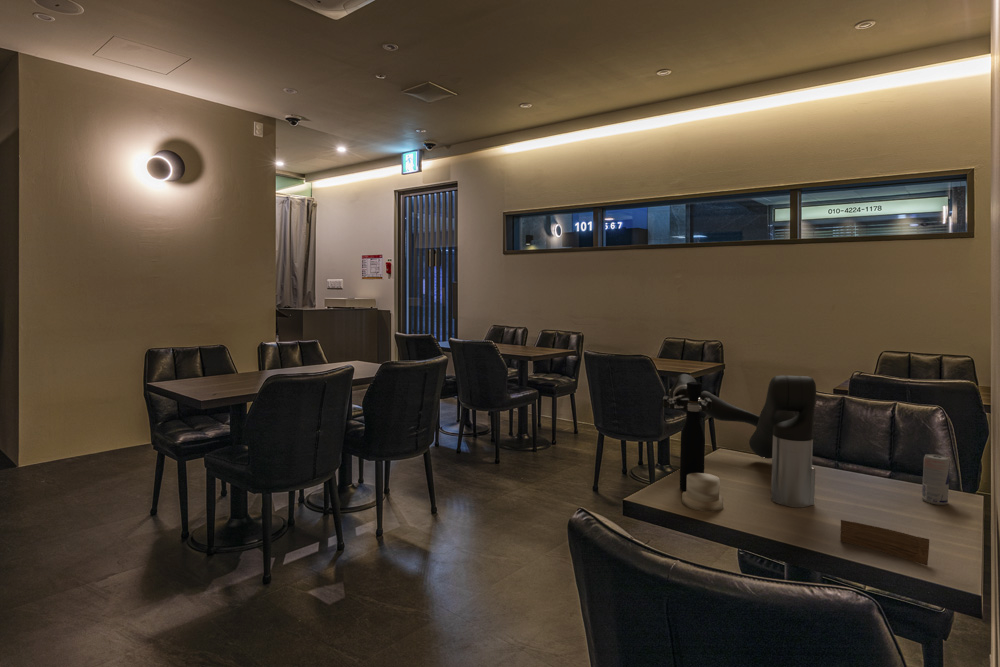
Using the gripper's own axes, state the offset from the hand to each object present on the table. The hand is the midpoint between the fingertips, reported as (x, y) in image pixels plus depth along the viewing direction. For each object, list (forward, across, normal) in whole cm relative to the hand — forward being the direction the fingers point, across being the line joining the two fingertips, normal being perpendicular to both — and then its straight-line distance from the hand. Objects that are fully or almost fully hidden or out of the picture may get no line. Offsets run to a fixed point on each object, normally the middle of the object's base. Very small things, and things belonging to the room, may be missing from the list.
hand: (687, 407), depth 164 cm
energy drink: (+4, -62, -21) cm, 66 cm away
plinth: (+23, -3, -21) cm, 31 cm away
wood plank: (+42, -37, -21) cm, 59 cm away
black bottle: (+12, -1, -21) cm, 24 cm away
